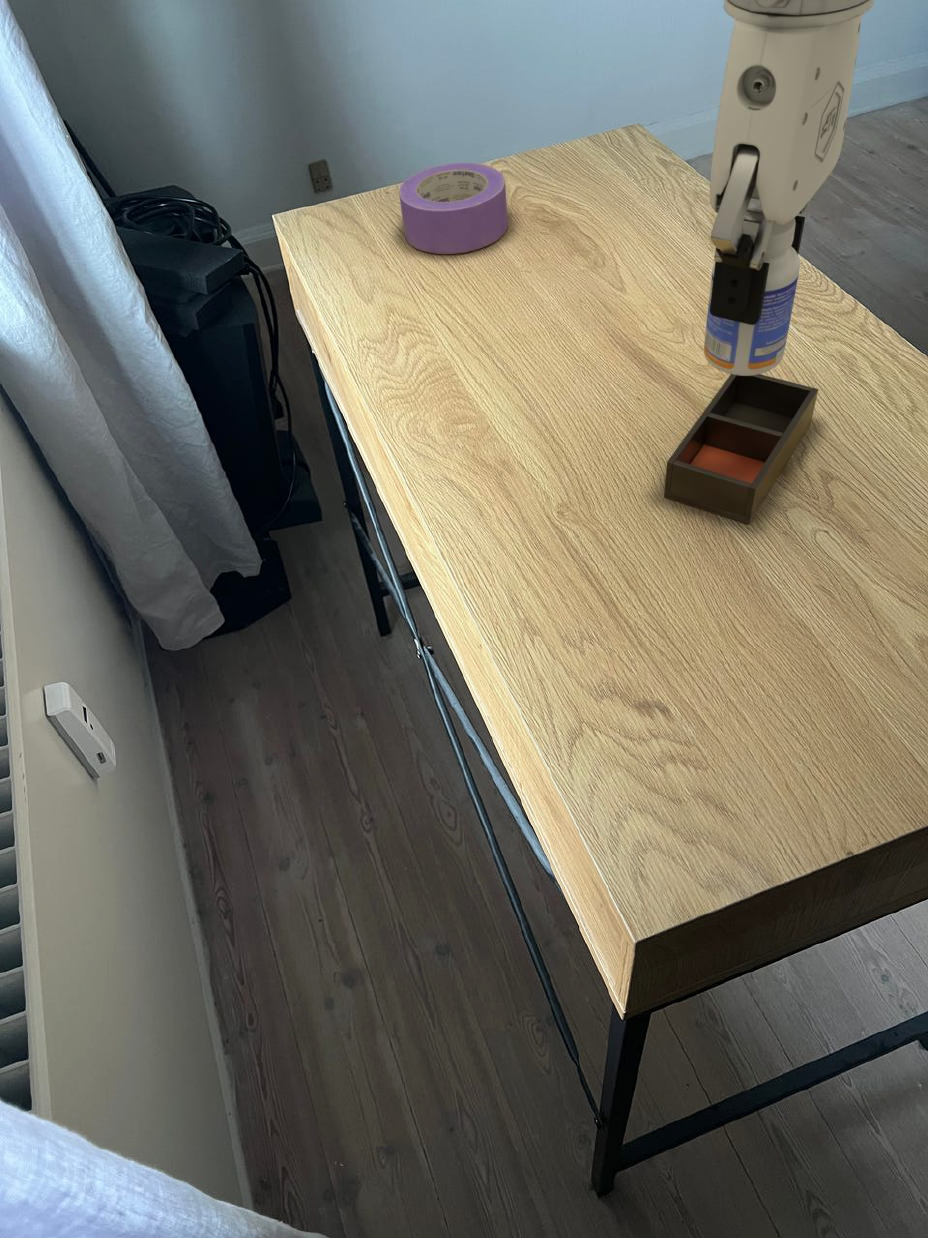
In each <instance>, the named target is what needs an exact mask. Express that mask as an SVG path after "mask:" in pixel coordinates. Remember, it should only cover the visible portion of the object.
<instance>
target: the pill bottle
mask: <svg viewBox="0 0 928 1238" xmlns="http://www.w3.org/2000/svg"><path fill="white" fill-rule="evenodd" d="M748 207H749V208H755V209H760V210H762V207H761V205H754V206H748ZM795 224H796V223H795V219H794V218H793V219H792V220H791V221H789V222H788V223H786V224H784V225H779V224H777V223H776V221H774V223H773V227H772V231H771V235H770V239H769V243H768V247H767V251H766V255H765V259H764V262H766V263H770V264H769V270H768V276H767V282H766V288H765V294H764V300H763V306H762V312H761V317H760V319H759V321H758V322H757V323H756V324H755V325H749V324H745V323H740V322H736V321H732V320H728V319H723V318H719V317H715V316H713V315H711V313H710V303H711V294H712V286H713V277H714V269H715V260H714V259H713V263H712V270H711V280H710V288H709V297H708V305H707V316H706V326H705V332H704V342H703V343H704V344H703V350H704V351H703V353H704V357H705V359H706V362H707V363H708V364H710V366H712V368H714V369H716V370H718V371H721V372H723V373H726V374H729V375H731V374H733V375H740V376H752V375H758V374H761V375H763V374H765V373H767V372H770V371H772V370H774V369H775V368H776V367H777V366H778V365H779V364H780V363H782V362H781V361H782V360H783V358H784V355H785V351H786V348H787V347H786V345H787V340H788V336H789V331H790V325H791V324H790V323H791V319H792V314H793V313H792V312H793V307H794V302H795V296H796V291H797V287H798V280H799V276H800V269H801V268H800V267H801V259H800V256H799V254H797V252H796V251H795V249H794V248H793V247H791V245H792V242H793V239H794V232H795ZM758 226H759V223H753V222H748V221H743V230H744V232H743V233H744V234H748V235H750V236H751V238H752V240H753V242H755V238H756V234H757V230H758Z"/></svg>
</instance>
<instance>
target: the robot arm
mask: <svg viewBox="0 0 928 1238" xmlns="http://www.w3.org/2000/svg"><path fill="white" fill-rule="evenodd" d="M874 3H875V0H723V10H724V12H725V14H727V15H728V16H730V17H731V18H732V19H734V23H733V27H732V32H731V37H730V42H729V48H728V54H727V58H726V62H725V63H726V64H725V69H724V74H723V75H724V76H723V81H722V88H721V93H720V101H719V106H718V113H717V120H716V127H715V135H714V140H713V141H714V142H713V149H712V157H711V167H710V179H709V204H710V207H711V209H712V210H713V211H714V212H715V213H717V214H716V216H715V220H714V223H713V226H712V229H711V232H710V241H711V243H712V244H713V245H714V246H715V251H714V257H713V261H714V260H715V269H714V277H713V286H712V294H711V303H710V313H711V315H713V316H715V317H719V318H723V319H728V320H732V321H736V322H740V323H745V324H749V325H755V324H756V323H757V322H758V321H759V319H760V317H761V312H762V306H763V300H764V294H765V288H766V282H767V276H768V270H769V264H770V263H766V262H764V259H765V255H766V251H767V247H768V243H769V239H770V235H771V231H772V227H773V223H774V221H776V223H777V224H779V225H784V224H786V223H788V222H789V221H791V220H792V219H793V218H794V219H795V223H796V224H795V232H794V239H793V242H792V245H791V247H793V248H794V249H795V251H796V252H797V254H798V255H799V253H800V248H801V244H802V243H801V242H802V238H803V232H804V226H805V221H806V216H801V215H804V214H805V212H806V210H807V208H808V204H809V202H810V200H811V199H812V198H813V196H815V194H816V193H817V192H818V190H819V189H820V188H821V186H822V185H823V184H824V183H825V182H826V180H827V179H828V178H829V176H830V175H831V173H832V172H833V170H834V169H835V167H836V165H837V163H838V162H839V159H840V156H841V152H842V148H843V143H844V136H845V131H846V125H847V119H848V113H849V106H850V101H851V94H852V88H853V81H854V75H855V69H856V63H857V57H858V56H857V55H858V49H859V42H860V34H861V26H862V17H863V15H865V14H866V13H868V12H869V11H870V10H871V8H873V6H874ZM751 199H752V200H757V201H759V204H760V206H761V207H762V210H760V209H755V208H749V207H750V203H751ZM743 221H748V222H753V223H759V226H758V230H757V234H756V238H755V242H753V240H752V238H751V236H750V235H748V234H744V233H743V232H744V230H743Z"/></svg>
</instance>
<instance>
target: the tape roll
mask: <svg viewBox="0 0 928 1238" xmlns="http://www.w3.org/2000/svg"><path fill="white" fill-rule="evenodd" d="M506 191H507V190H506V180H505V177H504V176H503V173H501V172H500V171H499V170H497V169H496V168H494V167H492V166H490V165H486V164H480V163H473V162H453V163H445V164H440V165H436V166H432V167H428V168H426V169H423V170H421V171H419V172H416V173H414V174H412V175H411V176H409V177H408V178H406V179H405V180H404V182H403V183H401V186H400V187H399V189H398V195H399V203H400V210H401V217H402V224H403V229H404V236H405V239H406V241H407V243H408V244H409V245H410V246H412V247H413V248H414V249H417V250H419V251H422V252H426V253H430V254H438V255H455V254H462V253H468V252H472V251H476V250H480V249H483V248H485V247H488V246H490V245H492V244H493V243H495V242H496V241H498V240H500V239H501V237H503V236H504V235H505V233H506V232H507V229H508V226H509V225H508V223H509V222H508V209H507V208H508V206H507V192H506Z"/></svg>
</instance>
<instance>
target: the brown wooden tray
mask: <svg viewBox="0 0 928 1238" xmlns="http://www.w3.org/2000/svg"><path fill="white" fill-rule="evenodd" d="M818 394H819V388H816V387H812V386H808V385H804V384H800V383H797V382H794V381H793V382H792V381H788V380H785V379H781V378H777V377H773V376H769V375H765V374H758V375H752V376H740V375H733V374H729V376H728V378H727V379H726V380H725V381H724V383H723V384H722V385H721V387H720V389H719V390H718V391H717V392H716V394H715V395H714V396H713V398H712V399H711V401H710V402H709V404H708V405H707V406H706V408H705V409H704V410H703V412H702V413H701V414H700V416H699V417H698V418H697V420H696V421H695V423H694V424H693V425H692V427H691V428H690V429H689V431H688V432H687V433H686V435H685V436H684V438H683V439H682V440H681V442H680V443H679V445H678V446H677V447H676V449H675V450H674V452H672V454H671V456H670V457H669V459H667V462H666V468H665V469H666V470H665V482H664V491H663V497H664V498H666V499H668V500H672V501H674V502H679V503H681V504H684V505H688V506H691V507H694V508H696V509H699V510H703V511H707V512H709V513H712V514H715V515H719V516H722V517H724V518H728V519H731V520H734V521H737V522H740V523H743V524H746V525H750V524H751V522H752V521H753V519H754V517H755V515H756V514H757V512H758V511H759V509H761V508H760V507H761V506H762V505H763V503H764V501H765V500H766V498H767V496H768V495H769V493H770V491H771V490H772V488H773V486H774V484H775V483H776V482H777V480H778V478H779V477H780V475H781V473H782V472H783V470H784V468H785V467H786V465H787V464H788V462H789V461H790V458H791V457H792V455H793V454H794V452H795V451H796V449H797V447H798V446H799V444H800V443H801V441H802V439H803V437H804V436H805V434H806V433H807V431H808V430H809V428H810V426H811V425H812V420H813V416H814V410H815V407H816V402H817V398H818Z"/></svg>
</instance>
